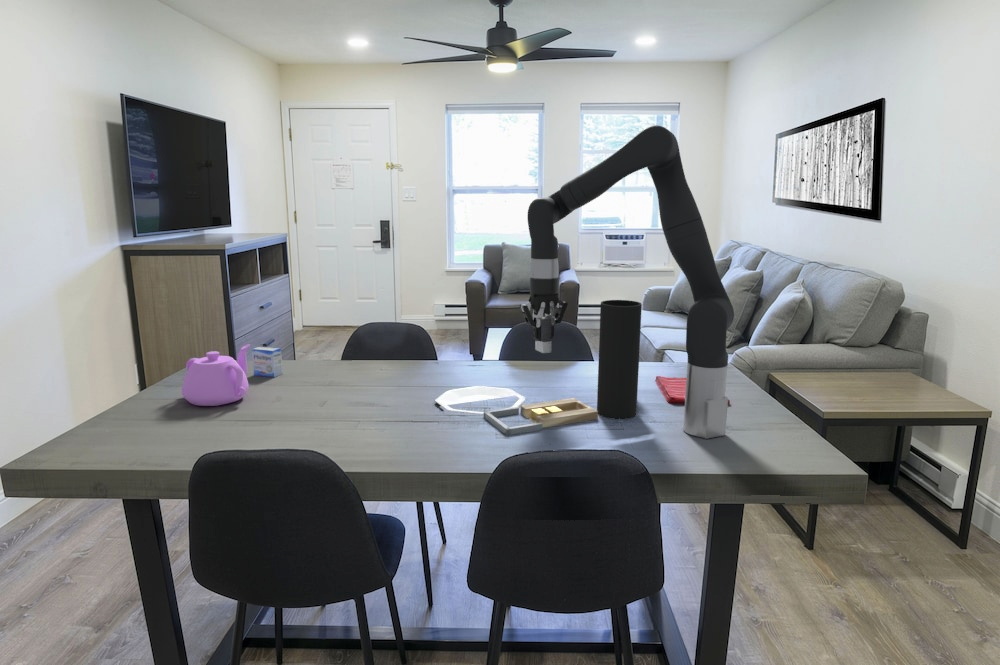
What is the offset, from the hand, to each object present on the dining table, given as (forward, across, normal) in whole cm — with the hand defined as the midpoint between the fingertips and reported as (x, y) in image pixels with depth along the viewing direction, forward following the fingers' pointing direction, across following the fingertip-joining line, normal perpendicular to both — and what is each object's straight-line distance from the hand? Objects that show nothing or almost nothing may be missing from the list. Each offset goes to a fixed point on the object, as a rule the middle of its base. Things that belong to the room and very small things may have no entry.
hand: (543, 339), depth 176 cm
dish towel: (+20, +46, -6) cm, 50 cm away
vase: (+19, +14, -15) cm, 28 cm away
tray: (+19, -14, -11) cm, 26 cm away
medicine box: (+18, -65, +64) cm, 93 cm away
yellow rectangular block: (+18, -7, -11) cm, 22 cm away
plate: (+19, -14, +10) cm, 26 cm away
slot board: (+19, -1, -11) cm, 22 cm away
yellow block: (+18, -3, -11) cm, 21 cm away
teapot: (+19, -79, +44) cm, 93 cm away
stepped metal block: (+3, 0, 0) cm, 3 cm away
